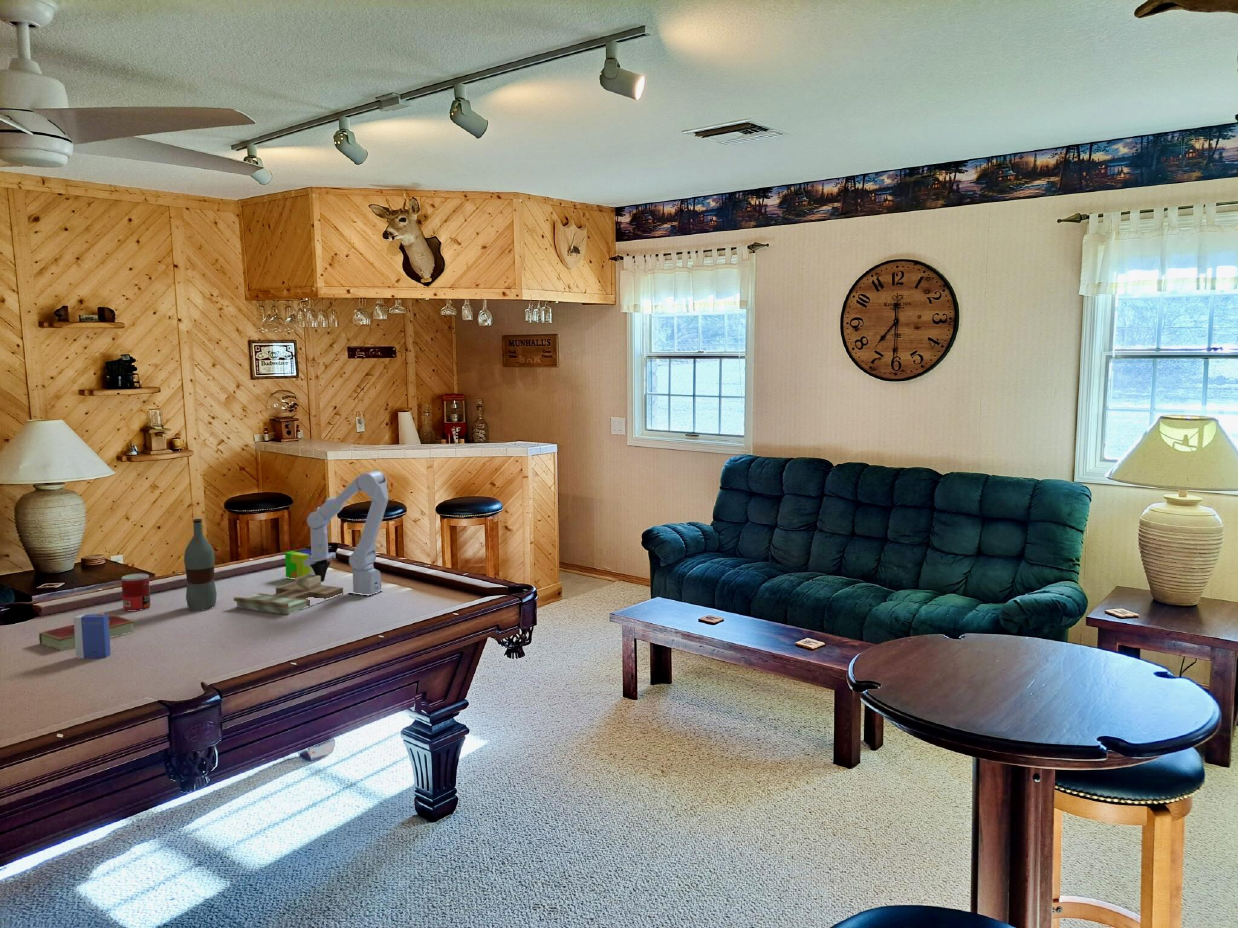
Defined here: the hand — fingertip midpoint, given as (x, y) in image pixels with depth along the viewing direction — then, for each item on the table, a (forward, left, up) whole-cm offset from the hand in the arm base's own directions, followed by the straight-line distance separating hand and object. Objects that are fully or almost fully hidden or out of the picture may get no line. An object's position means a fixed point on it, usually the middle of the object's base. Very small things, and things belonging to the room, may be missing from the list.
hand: (320, 581), depth 307 cm
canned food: (+41, +41, -4) cm, 58 cm away
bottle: (+22, +32, -4) cm, 39 cm away
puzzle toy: (+19, -14, -4) cm, 24 cm away
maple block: (0, +6, -1) cm, 6 cm away
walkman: (+10, +80, -4) cm, 81 cm away
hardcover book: (+27, +69, -4) cm, 74 cm away
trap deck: (0, +15, -3) cm, 16 cm away
